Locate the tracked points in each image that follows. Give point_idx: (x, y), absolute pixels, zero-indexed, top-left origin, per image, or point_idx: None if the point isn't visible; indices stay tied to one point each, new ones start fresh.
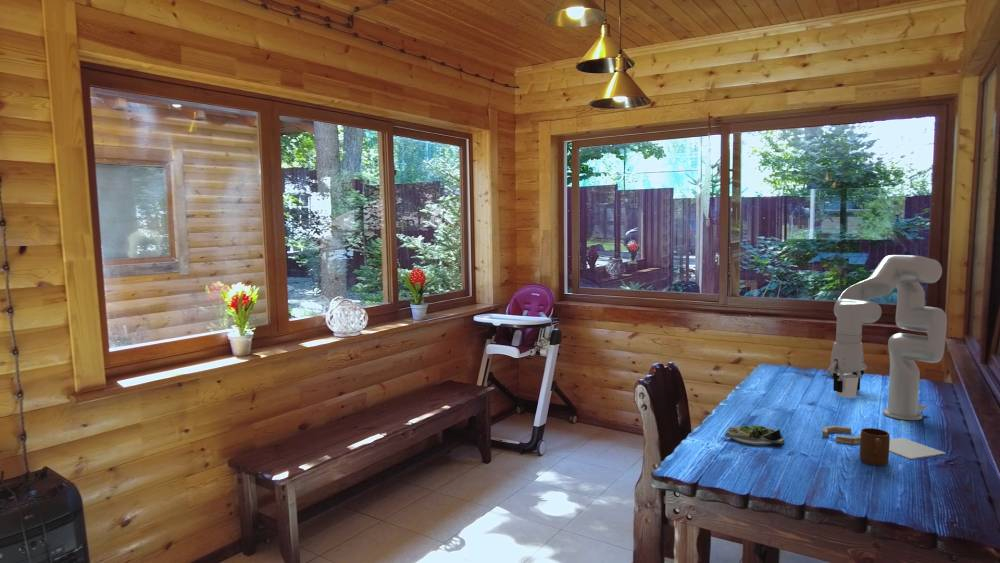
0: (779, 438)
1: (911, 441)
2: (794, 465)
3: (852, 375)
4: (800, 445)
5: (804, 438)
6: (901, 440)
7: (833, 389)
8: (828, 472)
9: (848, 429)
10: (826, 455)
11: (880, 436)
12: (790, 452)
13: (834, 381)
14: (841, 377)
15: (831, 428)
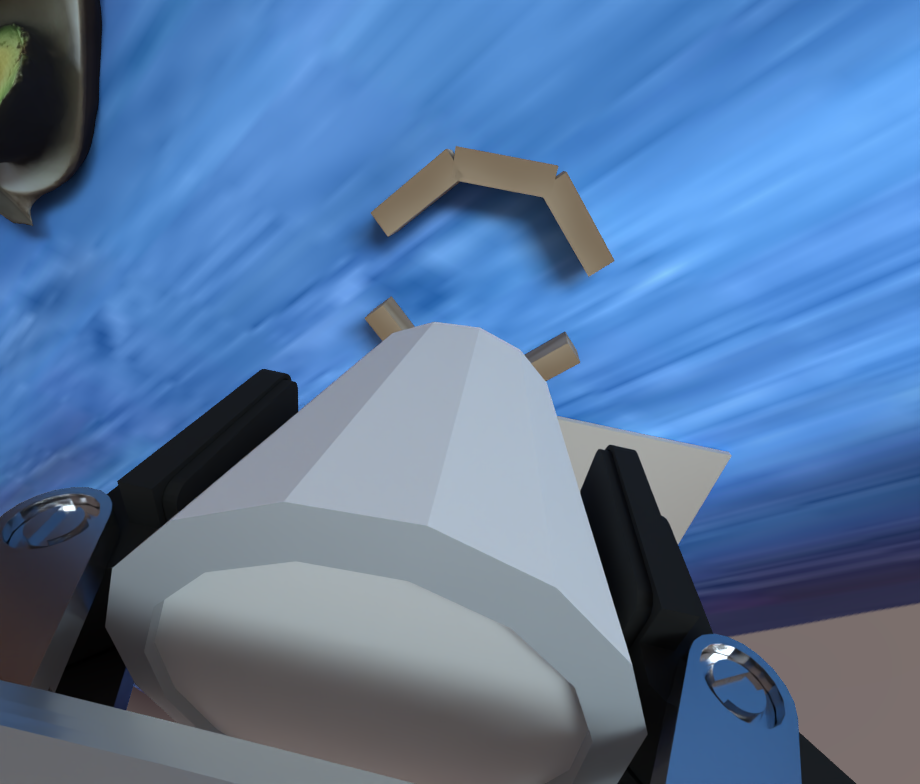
0: (26, 162)
1: (696, 497)
2: (3, 388)
3: (486, 758)
4: (154, 249)
5: (249, 177)
6: (674, 470)
7: (260, 373)
8: (94, 476)
9: (580, 260)
10: (192, 390)
11: None
12: (52, 290)
13: (119, 497)
14: (109, 687)
15: (497, 187)
